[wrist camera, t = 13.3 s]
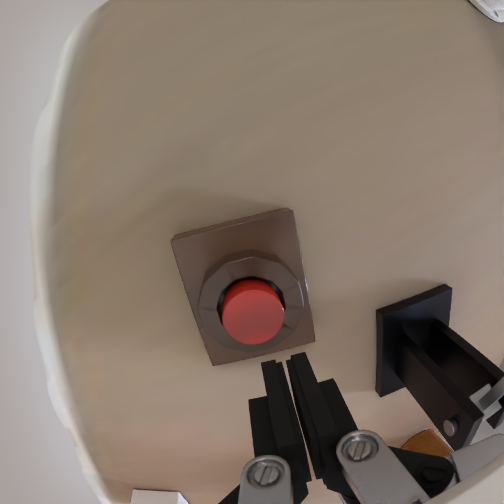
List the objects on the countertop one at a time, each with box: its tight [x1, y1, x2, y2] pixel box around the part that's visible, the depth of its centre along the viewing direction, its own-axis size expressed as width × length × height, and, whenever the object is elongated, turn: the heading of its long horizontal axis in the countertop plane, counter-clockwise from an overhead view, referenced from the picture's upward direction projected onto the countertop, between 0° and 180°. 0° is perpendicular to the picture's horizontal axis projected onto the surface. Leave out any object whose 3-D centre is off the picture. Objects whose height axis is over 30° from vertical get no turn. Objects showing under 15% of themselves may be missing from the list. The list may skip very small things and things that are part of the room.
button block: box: [171, 208, 315, 366], centre depth 19 cm, size 10×8×4 cm
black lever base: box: [376, 284, 504, 451], centre depth 18 cm, size 10×8×13 cm
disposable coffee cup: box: [401, 430, 454, 457], centre depth 25 cm, size 10×10×12 cm
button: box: [222, 280, 284, 344], centre depth 17 cm, size 4×4×2 cm
